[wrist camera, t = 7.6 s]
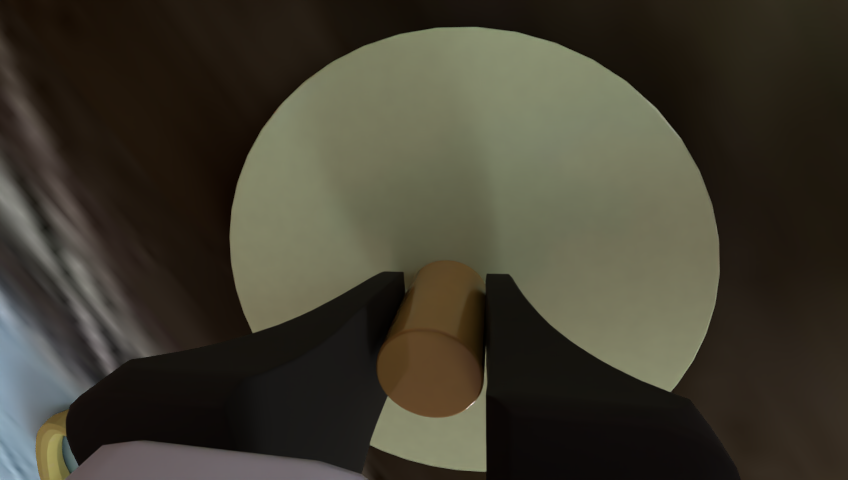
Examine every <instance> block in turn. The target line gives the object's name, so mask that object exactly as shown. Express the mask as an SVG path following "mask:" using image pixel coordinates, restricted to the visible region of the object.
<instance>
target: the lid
mask: <svg viewBox="0 0 848 480" xmlns="http://www.w3.org/2000/svg"><path fill="white" fill-rule="evenodd" d="M229 237H230V254H231V266H232V271H233V276H234V281H235V287H236V291H237V294H238V297H239V300H240V303H241V306H242V309H243V312H244V315H245V317H246V319H247V321H248V324H249V326H250V328H251V330H252V332H253V333H255V332H258V331H261V330H264V329H267V328H270V327H273V326H276V325H279V324H281V323H284V322H286V321H289V320H291V319H293V318H296V317H298V316H301V315H303V314H305V313H307V312H309V311H311V310H313V309H315V308H317V307H319V306H321V305H323V304H325V303H327V302H329V301H331V300H332V299H334V298H336V297H338V296H340V295H342V294H344V293H345V292H347V291H349V290H350V289H352V288H354V287H356V286H357V285H359V284H361V283H362V282H364V281H366V280H367V279H369V278H371V277H373V276H375V275H377V274H379V273H381V272H383V271H390V272H404V282H405V293H406V294H405V296H404V298H403V300H402V302H401V305H400V307H399V309H398V311H397V313H396V315H395V318H394V320H393V322H392V324H391V326H390V328H389V331H388V333H387V335H386V337H385V339H384V341H383V344H382V346H381V348H380V350H379V352H378V355H377V359H376V372H377V377H378V380H379V383H380V385H381V387H382V389H383V390H384V392H385V393H386V394H387V395H388V397H387V399H386V402H385V404H384V407H383V409H382V412H381V414H380V417H379V419H378V422H377V424H376V427H375V430H374V433H373V435H372V438H371V441H370V445H371V446H373V447H376V448H378V449H380V450H382V451H385V452H387V453H390V454H393V455H396V456H398V457H401V458H404V459H407V460H411V461H414V462H418V463H422V464H426V465H430V466H435V467H441V468H448V469H454V470H465V471H480V472H486V389H487V370H486V336H487V330H486V286H485V281H486V275H487V274H509V275H510V276H511V277H512V278H513V279H514V281H515V283H516V285H517V286H518V288H519V289H520V290H521V292H522V293H523V295H524V296H525V297H526V299H527V300H528V301H529V302H530V303H531V305H532V306H533V307H534V308H535V309H536V310H537V311H538V313H539V314H540V315H541V316H542V317H543V318H544V319H545V320H546V321H547V322H548V323H549V324H550V325H551V326H553V327H554V328H555V329H556V330H557V331H559V332H560V333H561V334H562V335H564V336H565V337H566V338H568V339H569V340H570V341H572V342H573V343H574V344H576V345H577V346H579V347H580V348H582V349H584V350H585V351H587V352H588V353H590V354H591V355H593V356H595V357H596V358H598V359H600V360H601V361H603V362H605V363H607V364H609V365H611V366H612V367H614V368H616V369H618V370H620V371H622V372H625V373H627V374H629V375H631V376H633V377H635V378H637V379H639V380H641V381H644V382H646V383H649V384H651V385H654V386H656V387H659V388H661V389H664V390H666V391H669V392H671V391H672V390H673V389H674V387H675V386H676V385H677V384H678V382H679V381H680V379H681V378H682V376H683V375H684V374H685V372H686V371H687V369H688V368H689V366H690V365H691V363H692V362H693V360H694V358H695V356H696V354H697V352H698V350H699V348H700V346H701V344H702V342H703V340H704V337H705V335H706V333H707V330H708V326H709V323H710V320H711V317H712V313H713V310H714V307H715V303H716V296H717V289H718V282H719V274H720V262H719V236H718V231H717V226H716V221H715V216H714V211H713V206H712V202H711V200H710V197H709V194H708V191H707V189H706V186H705V183H704V181H703V178H702V175H701V173H700V170H699V168H698V167H697V165H696V163H695V162H694V160H693V158H692V156H691V155H690V153H689V151H688V149H687V148H686V146H685V144H684V142H683V141H682V139H681V137H680V136H679V135H678V134H677V133H676V131H675V130H674V129H673V128H672V126H671V125H670V124H669V123H668V121H667V120H666V119H665V118H664V117H663V115H662V114H661V113H660V112H659V110H658V109H657V108H656V107H655V106H654V105H653V104H651V103H650V102H649V101H648V100H647V99H646V98H645V97H644V96H643V95H641V94H640V93H639V92H638V91H637V90H636V89H635V88H634V87H632V86H631V85H630V84H629V83H628V82H627V81H625V80H624V79H622V78H621V77H619V76H618V75H616V74H614V73H613V72H611V71H610V70H608V69H607V68H605V67H604V66H602V65H601V64H599V63H597V62H596V61H594V60H593V59H590V58H588V57H586V56H584V55H582V54H579V53H577V52H575V51H573V50H571V49H568V48H566V47H564V46H562V45H559V44H557V43H554V42H551V41H547V40H544V39H540V38H537V37H533V36H530V35H526V34H522V33H519V32H514V31H506V30H498V29H490V28H482V27H442V28H432V29H426V30H420V31H414V32H408V33H402V34H398V35H395V36H392V37H389V38H385V39H382V40H379V41H376V42H373V43H370V44H367V45H364V46H362V47H360V48H358V49H356V50H354V51H352V52H350V53H348V54H346V55H344V56H342V57H340V58H338V59H336V60H334V61H332V62H331V63H329V64H328V65H327V66H325V67H324V68H322V69H321V70H320V71H318V72H317V73H315V74H314V75H313V76H311V77H310V78H308V79H307V80H306V81H304V82H303V83H302V84H301V85H300V86H299V87H298V88H297V89H296V90H295V91H294V92H293V93H292V94H291V95H290V96H289V97H288V98H287V99H286V100H285V101H283V102H282V103H281V105H280V106H279V107H278V108H277V110H276V111H275V112H274V114H273V115H272V116H271V118H270V119H269V120H268V122H267V123H266V124H265V126H264V127H263V128H262V130H261V132H260V133H259V135H258V137H257V139H256V141H255V142H254V144H253V146H252V148H251V150H250V152H249V153H248V155H247V158H246V160H245V163H244V166H243V169H242V171H241V174H240V177H239V179H238V182H237V186H236V191H235V196H234V200H233V205H232V209H231V223H230V236H229Z"/></svg>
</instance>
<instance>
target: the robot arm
mask: <svg viewBox="0 0 848 480" xmlns="http://www.w3.org/2000/svg"><path fill="white" fill-rule="evenodd" d="M485 286H486V330H487V336H486V370H487V389H486V480H740V476H739V473H738V470H737V468H736V466H735V464H734V463H733V461H732V459H731V458H730V456H729V455H728V453H727V451H726V450H725V448H724V447H723V445H722V443H721V442H720V440H719V439H718V437H717V436H716V434H715V433H714V431H713V430H712V428H711V427H710V425H709V424H708V423H707V421H706V420H705V419H704V418H703V416H702V415H701V414H700V412H699V411H698V410H697V409H696V407H695V406H694V404H693V403H692V402H691V400H689V399H687V398H684V397H682V396H679V395H676V394H674V393H671V392H669V391H666V390H664V389H661V388H659V387H656V386H654V385H651V384H649V383H646V382H644V381H641V380H639V379H637V378H635V377H633V376H631V375H629V374H627V373H625V372H622V371H620V370H618V369H616V368H614V367H612V366H611V365H609V364H607V363H605V362H603V361H601V360H600V359H598V358H596V357H595V356H593V355H591V354H590V353H588V352H587V351H585V350H584V349H582V348H580V347H579V346H577V345H576V344H574V343H573V342H572V341H570V340H569V339H568V338H566V337H565V336H564V335H562V334H561V333H560V332H559V331H557V330H556V329H555V328H554V327H553V326H551V325H550V324H549V323H548V322H547V321H546V320H545V319H544V318H543V317H542V316H541V315H540V314H539V313H538V311H537V310H536V309H535V308H534V307H533V306H532V305H531V303H530V302H529V301H528V300H527V299H526V297H525V296H524V295H523V293H522V292H521V290H520V289H519V288H518V286H517V285H516V283H515V281H514V279H513V278H512V277H511V276H510V275H509V274H487V275H486V281H485ZM405 294H406V293H405V282H404V272H390V271H383V272H381V273H379V274H377V275H375V276H373V277H371V278H369V279H367V280H366V281H364V282H362V283H361V284H359V285H357V286H356V287H354V288H352V289H350V290H349V291H347V292H345V293H344V294H342V295H340V296H338V297H336V298H334V299H332V300H331V301H329V302H327V303H325V304H323V305H321V306H319V307H317V308H315V309H313V310H311V311H309V312H307V313H305V314H303V315H301V316H298V317H296V318H293V319H291V320H289V321H286V322H284V323H281V324H279V325H276V326H273V327H270V328H267V329H264V330H261V331H258V332H255V333H252V334H249V335H246V336H243V337H239V338H236V339H232V340H228V341H225V342H221V343H217V344H213V345H208V346H204V347H200V348H195V349H190V350H185V351H180V352H174V353H168V354H162V355H157V356H151V357H145V358H138V359H131V360H129V361H127V362H126V363H124V364H123V365H122V366H120V367H119V368H117V369H116V370H115V371H113V372H112V373H111V374H109V375H108V376H107V377H105V378H104V379H102V380H101V381H100V382H98V383H97V384H96V385H94V386H93V387H92V388H90V389H89V390H87V391H86V392H85V393H83V394H82V395H81V396H79V397H78V398H77V399H76V400H75V401H74V402H73V403H72V404H71V405H70V408H69V411H68V413H67V416H66V437H67V440H68V443H69V446H70V448H71V451H72V453H73V455H74V457H75V459H76V461H77V463H78V465H79V467H78V468H77V469H76V470H74V471H73V472H72V473H71V474H70V475H69V476H68V477H67V478H66V479H64V480H368V479H367V478H366V477H364V476H363V475H362V474H361V473H362V470H363V466H364V463H365V459H366V455H367V452H368V448H369V445H370V441H371V438H372V435H373V433H374V430H375V427H376V424H377V422H378V419H379V417H380V414H381V412H382V409H383V407H384V404H385V402H386V399H387V397H388V395H387V394H386V393H385V392H384V390H383V389H382V387H381V385H380V383H379V380H378V377H377V372H376V359H377V355H378V352H379V350H380V348H381V346H382V344H383V341H384V339H385V337H386V335H387V333H388V331H389V328H390V326H391V324H392V322H393V320H394V318H395V315H396V313H397V311H398V309H399V307H400V305H401V302H402V300H403V298H404V296H405Z"/></svg>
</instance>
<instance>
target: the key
mask: <svg viewBox="0 0 848 480" xmlns="http://www.w3.org/2000/svg"><path fill="white" fill-rule="evenodd" d="M68 411H69V409H68V410H65V411H63V412H60V413H58V414H55V415H53V416H52V417H50V418H49V419H48V420H47V421H46V422H45V423H44V424H43V425H42V427H41V428H40V429H39V431H38V433H37V437H36V459H37V466H38V471H39V475H40V479H41V480H64V479H66V478H67V477H68V476H69V475H70V473H69V471H68V469H67V467H66V465H65V462H64V459H63V455H62V440H63V437H64V436H66V416H67V413H68Z"/></svg>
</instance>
